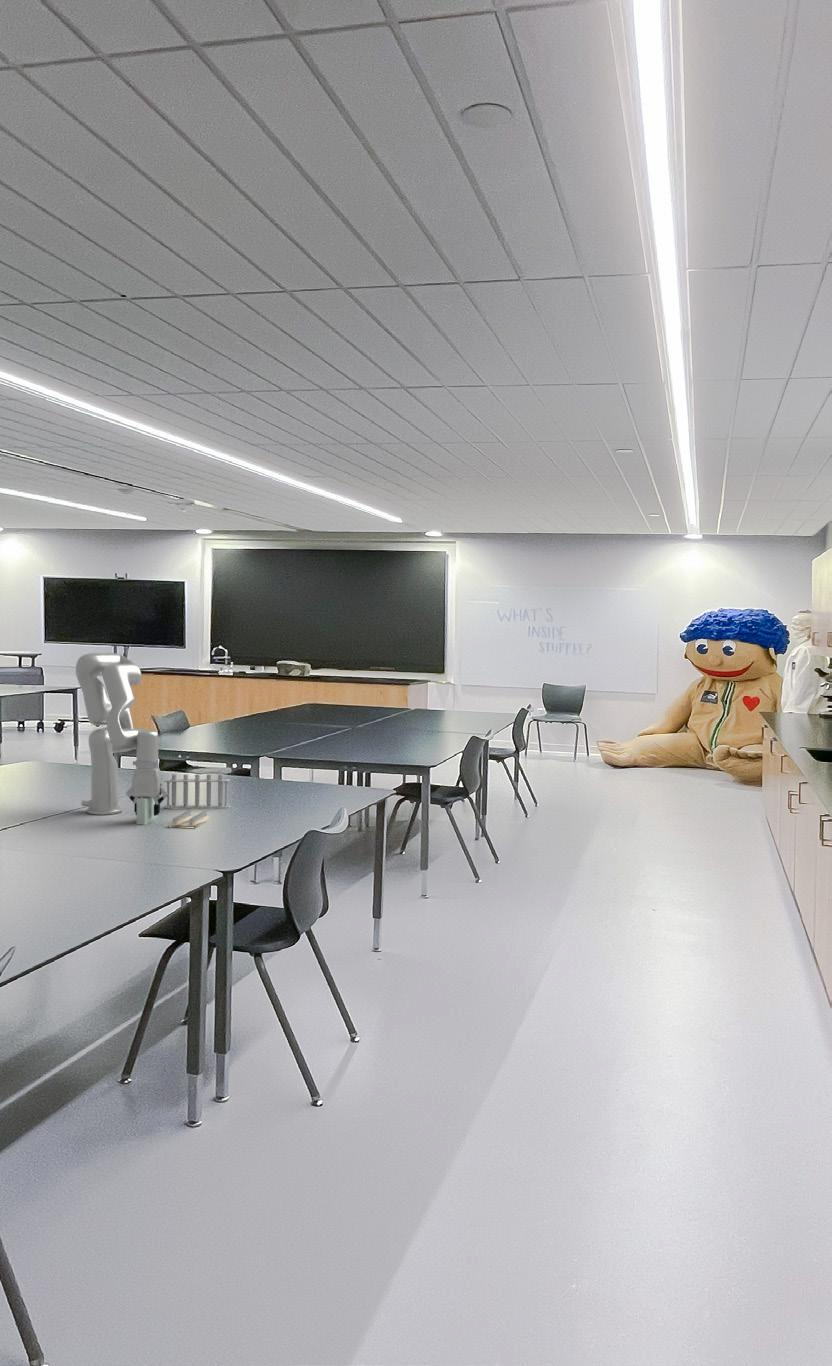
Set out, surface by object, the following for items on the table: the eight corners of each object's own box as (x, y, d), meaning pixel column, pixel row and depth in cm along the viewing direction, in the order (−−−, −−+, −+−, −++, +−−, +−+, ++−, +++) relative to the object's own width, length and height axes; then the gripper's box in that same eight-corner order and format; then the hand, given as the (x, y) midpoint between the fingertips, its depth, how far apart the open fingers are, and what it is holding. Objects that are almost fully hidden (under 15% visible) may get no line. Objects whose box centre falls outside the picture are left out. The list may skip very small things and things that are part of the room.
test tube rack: (230, 807, 390) (230, 773, 389) (229, 809, 385) (229, 775, 384) (165, 807, 386) (165, 773, 386) (163, 809, 382) (163, 775, 381)
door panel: (136, 824, 351) (136, 799, 351) (149, 818, 363) (149, 794, 363) (144, 825, 351) (144, 799, 350) (157, 818, 363) (157, 794, 362)
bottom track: (167, 827, 347) (167, 819, 347) (185, 817, 365) (185, 809, 365) (195, 828, 346) (195, 820, 346) (211, 819, 364) (211, 810, 364)
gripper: (120, 765, 353) (119, 815, 354) (166, 767, 351) (166, 817, 352) (128, 762, 360) (128, 811, 361) (174, 764, 359) (173, 813, 360)
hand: (147, 814), depth 357 cm, fingers open, 6 cm apart
